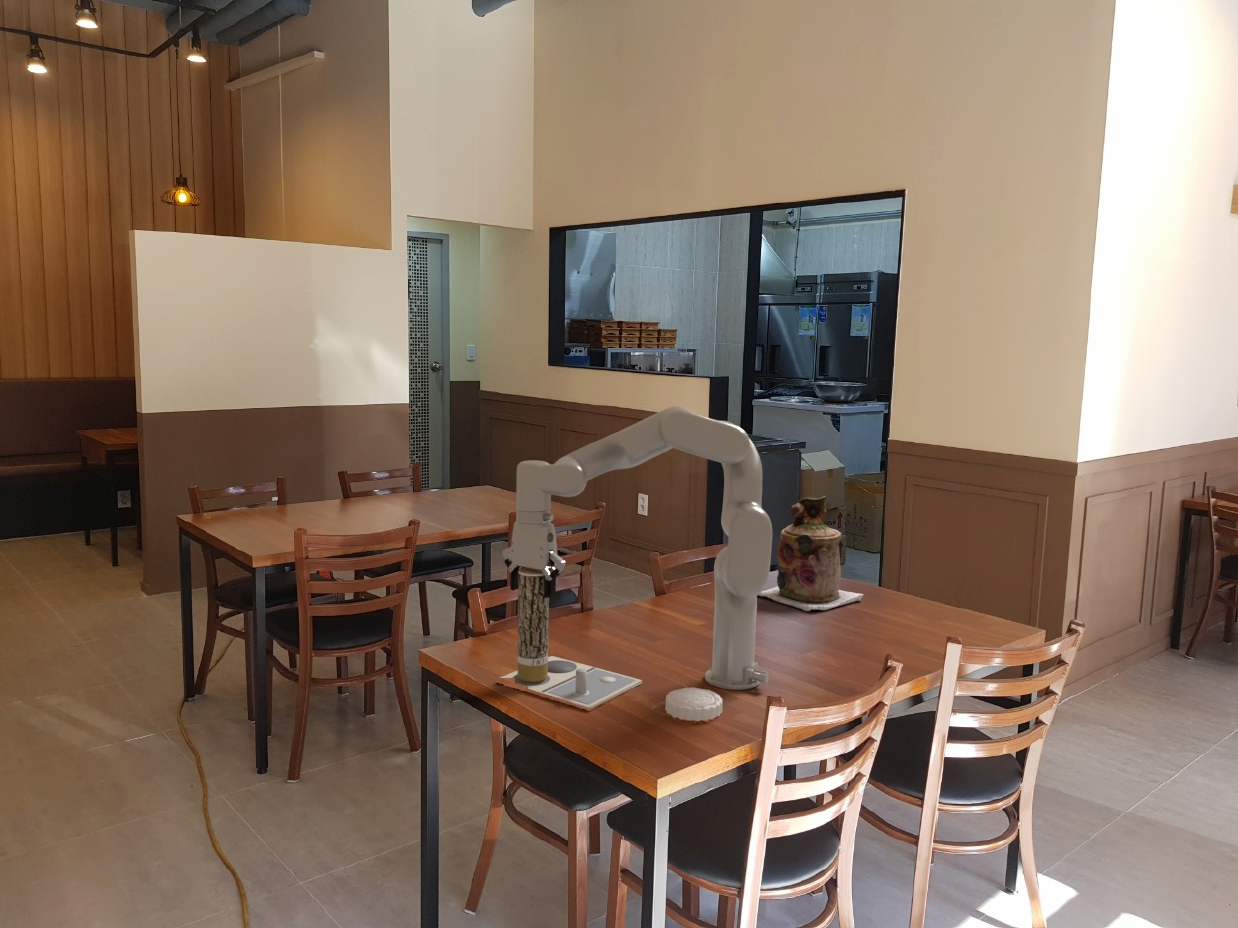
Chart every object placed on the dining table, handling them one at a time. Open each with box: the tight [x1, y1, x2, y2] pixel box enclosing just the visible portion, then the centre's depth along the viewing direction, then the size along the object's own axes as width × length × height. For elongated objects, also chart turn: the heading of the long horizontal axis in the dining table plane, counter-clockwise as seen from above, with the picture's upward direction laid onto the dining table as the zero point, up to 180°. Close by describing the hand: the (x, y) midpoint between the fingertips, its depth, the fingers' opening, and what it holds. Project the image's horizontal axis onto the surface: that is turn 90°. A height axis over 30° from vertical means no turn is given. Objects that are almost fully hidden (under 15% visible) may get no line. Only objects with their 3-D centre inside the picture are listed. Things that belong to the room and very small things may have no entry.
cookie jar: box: [757, 495, 864, 612], centre depth 289 cm, size 25×25×32 cm
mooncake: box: [664, 686, 723, 721], centre depth 202 cm, size 12×12×4 cm
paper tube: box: [517, 567, 550, 683], centre depth 214 cm, size 7×7×25 cm
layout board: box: [499, 655, 643, 708], centre depth 216 cm, size 26×20×6 cm
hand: (532, 592), depth 213 cm, fingers open, 9 cm apart
